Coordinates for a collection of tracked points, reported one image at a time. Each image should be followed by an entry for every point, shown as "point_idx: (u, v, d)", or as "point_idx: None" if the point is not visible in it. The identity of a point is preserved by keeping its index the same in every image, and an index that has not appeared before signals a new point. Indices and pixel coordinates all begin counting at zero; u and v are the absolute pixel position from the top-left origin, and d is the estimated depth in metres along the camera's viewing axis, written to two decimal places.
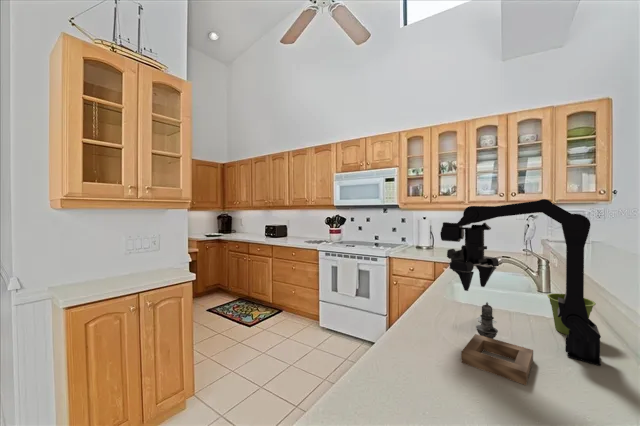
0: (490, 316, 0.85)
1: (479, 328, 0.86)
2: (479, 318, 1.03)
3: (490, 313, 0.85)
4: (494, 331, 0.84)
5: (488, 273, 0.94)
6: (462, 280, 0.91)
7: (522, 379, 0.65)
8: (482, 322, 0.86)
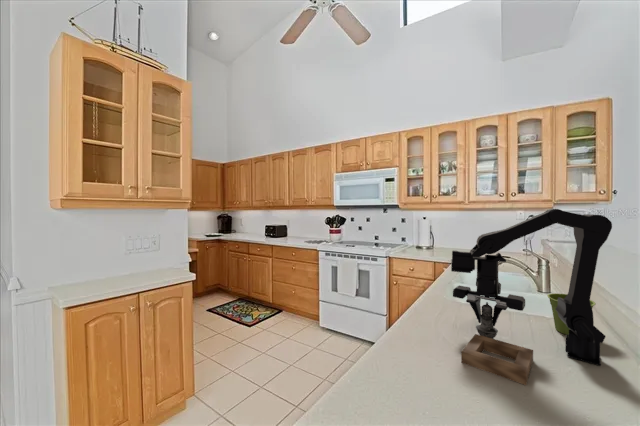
0: (490, 316, 0.85)
1: (479, 328, 0.86)
2: None
3: (490, 313, 0.85)
4: (494, 331, 0.84)
5: None
6: None
7: (522, 379, 0.65)
8: (482, 322, 0.86)
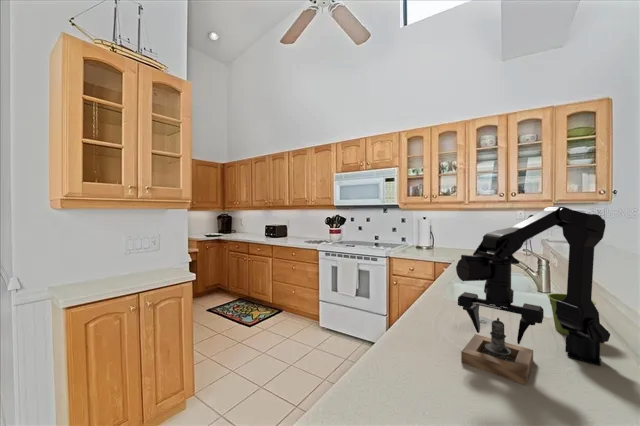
0: (502, 334, 0.73)
1: (489, 348, 0.74)
2: (479, 318, 1.03)
3: (502, 331, 0.73)
4: (507, 352, 0.72)
5: (519, 326, 0.69)
6: None
7: (522, 379, 0.65)
8: (492, 341, 0.74)
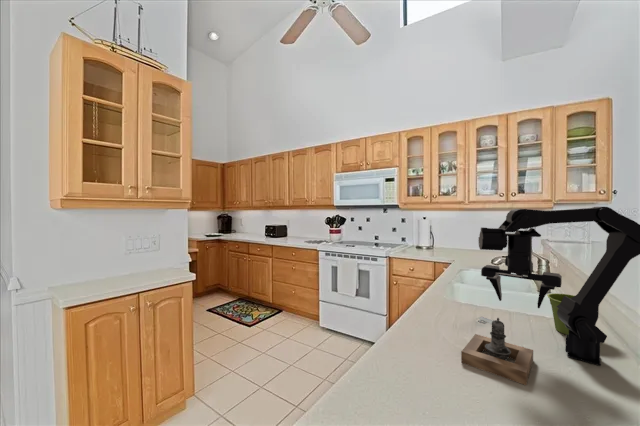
0: (502, 334, 0.73)
1: (489, 348, 0.74)
2: (479, 318, 1.03)
3: (502, 331, 0.73)
4: (507, 352, 0.72)
5: (539, 292, 0.77)
6: None
7: (522, 379, 0.65)
8: (492, 341, 0.74)
